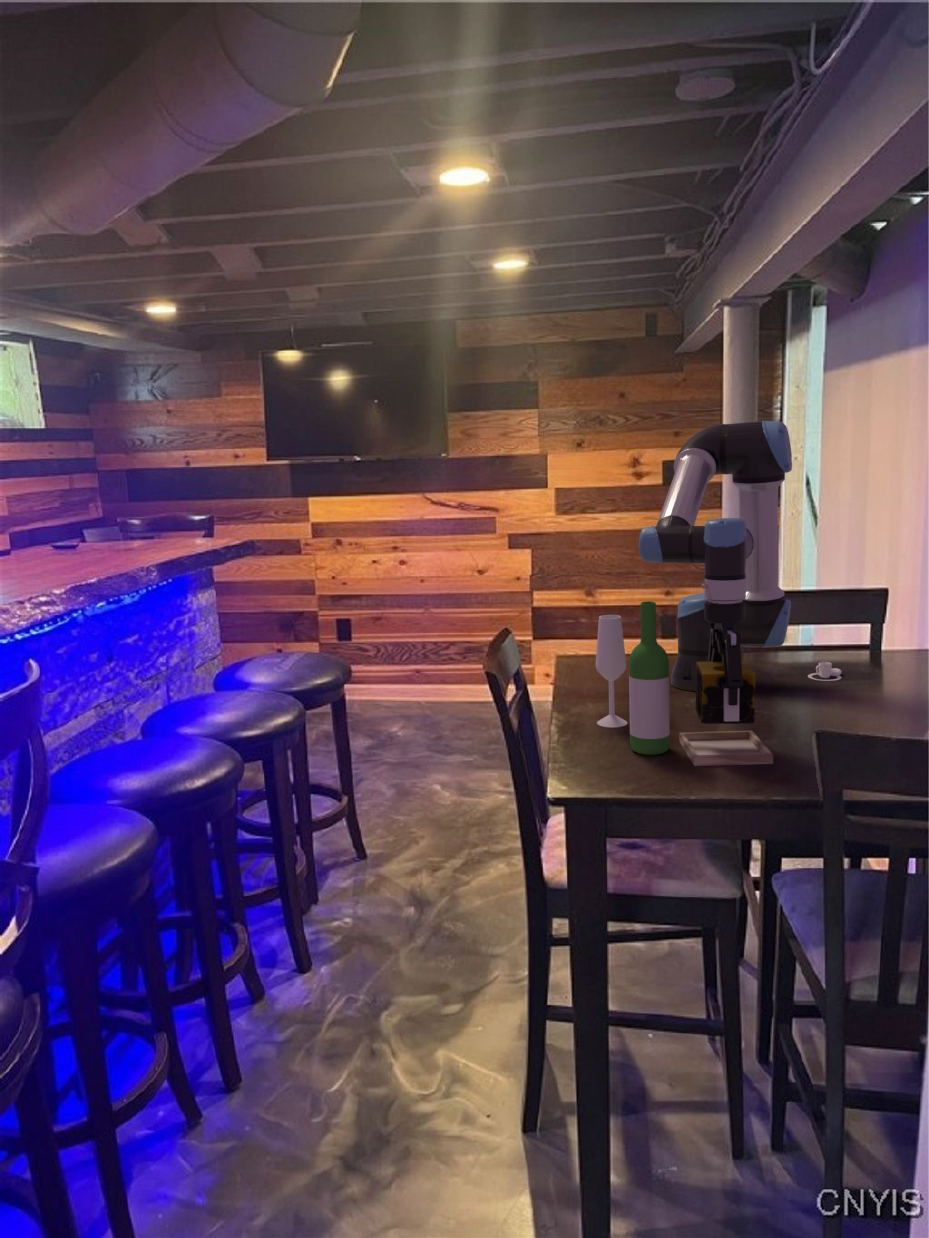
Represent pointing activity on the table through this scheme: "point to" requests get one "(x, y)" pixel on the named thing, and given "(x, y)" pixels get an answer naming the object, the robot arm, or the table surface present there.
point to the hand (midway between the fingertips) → (724, 712)
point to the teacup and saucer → (826, 671)
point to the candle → (722, 694)
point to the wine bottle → (649, 689)
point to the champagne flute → (610, 661)
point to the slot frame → (725, 748)
